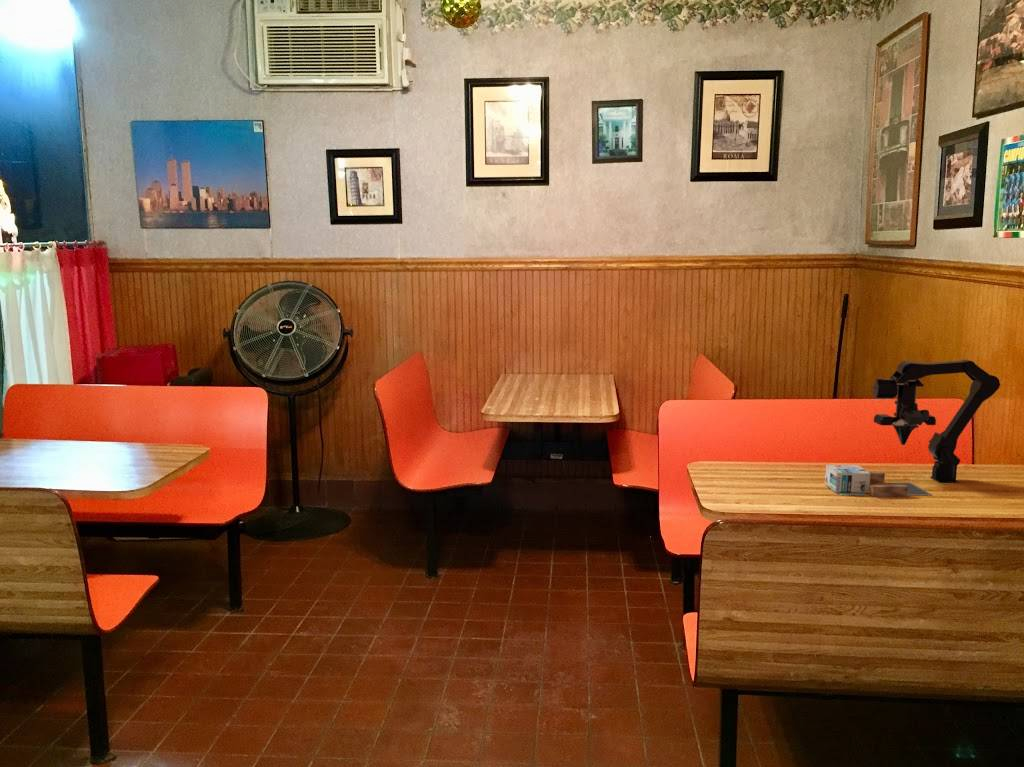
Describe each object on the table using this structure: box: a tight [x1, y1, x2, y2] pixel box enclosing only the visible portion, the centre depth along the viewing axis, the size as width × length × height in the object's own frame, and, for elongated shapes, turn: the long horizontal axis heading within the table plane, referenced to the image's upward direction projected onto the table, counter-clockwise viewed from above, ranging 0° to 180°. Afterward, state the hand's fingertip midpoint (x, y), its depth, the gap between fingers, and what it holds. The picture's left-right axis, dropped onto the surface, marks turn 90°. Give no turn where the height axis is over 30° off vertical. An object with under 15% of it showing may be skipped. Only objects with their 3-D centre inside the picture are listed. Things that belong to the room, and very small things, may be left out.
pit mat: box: [887, 482, 933, 496], centre depth 275 cm, size 8×14×1 cm, turn 1°
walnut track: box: [868, 471, 908, 498], centre depth 275 cm, size 11×18×4 cm, turn 2°
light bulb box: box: [824, 464, 871, 494], centre depth 274 cm, size 11×7×11 cm
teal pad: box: [836, 492, 867, 497], centre depth 275 cm, size 8×13×1 cm, turn 2°
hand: (902, 444), depth 285 cm, fingers closed
